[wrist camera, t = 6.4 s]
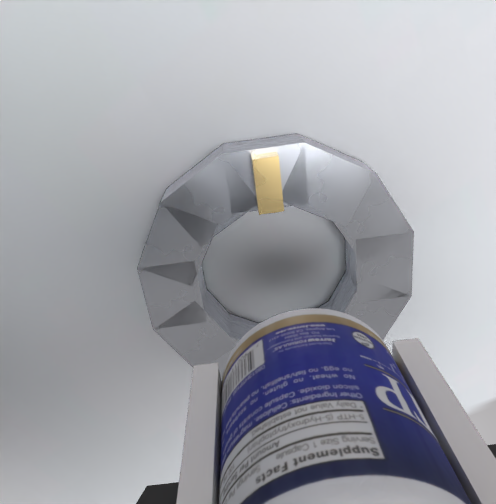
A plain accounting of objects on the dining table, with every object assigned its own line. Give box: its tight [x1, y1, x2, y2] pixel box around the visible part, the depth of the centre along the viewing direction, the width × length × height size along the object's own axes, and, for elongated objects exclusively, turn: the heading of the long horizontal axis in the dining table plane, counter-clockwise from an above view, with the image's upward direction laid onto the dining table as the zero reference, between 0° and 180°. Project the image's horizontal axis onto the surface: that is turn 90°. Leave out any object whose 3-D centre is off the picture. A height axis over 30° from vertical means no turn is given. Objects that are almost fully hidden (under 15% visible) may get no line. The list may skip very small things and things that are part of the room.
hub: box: [137, 134, 414, 379], centre depth 20 cm, size 12×12×3 cm
